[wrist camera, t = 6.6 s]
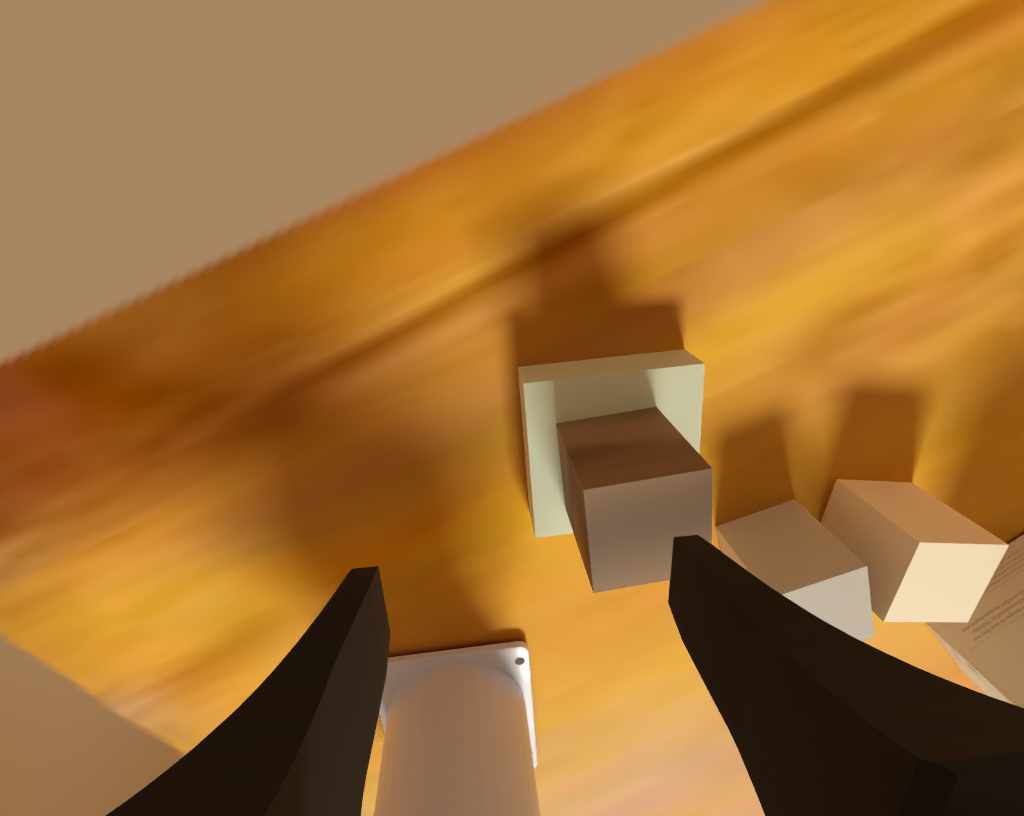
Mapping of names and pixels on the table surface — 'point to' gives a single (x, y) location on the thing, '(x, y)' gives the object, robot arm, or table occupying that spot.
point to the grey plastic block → (802, 564)
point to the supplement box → (993, 632)
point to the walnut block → (632, 494)
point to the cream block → (913, 550)
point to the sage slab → (598, 413)
